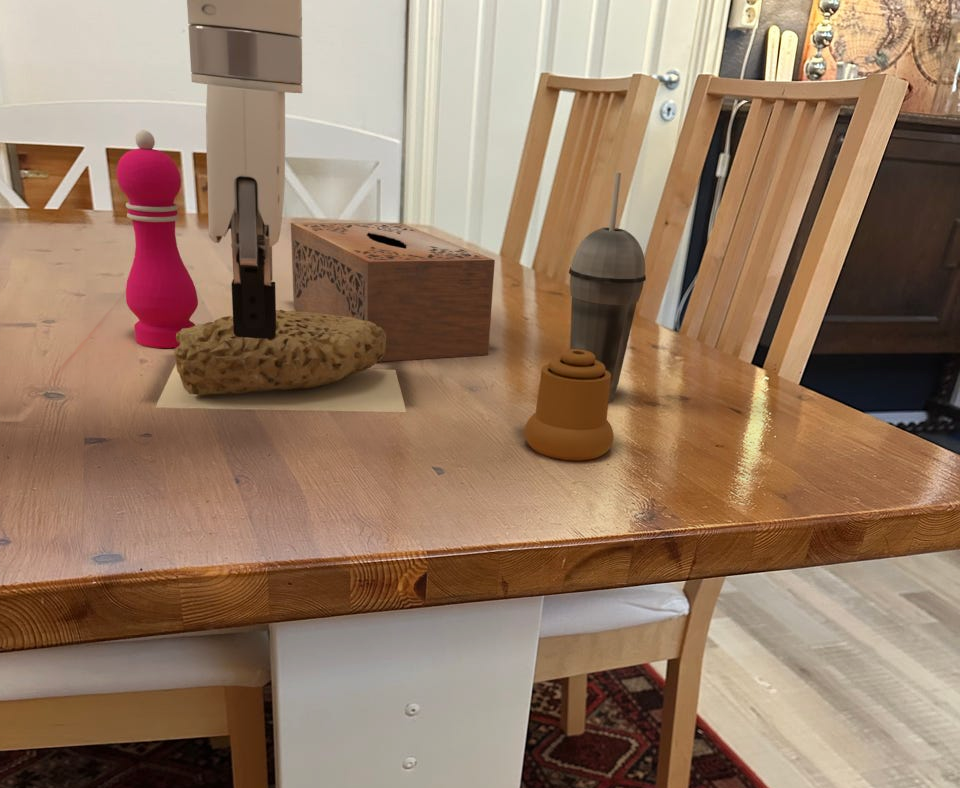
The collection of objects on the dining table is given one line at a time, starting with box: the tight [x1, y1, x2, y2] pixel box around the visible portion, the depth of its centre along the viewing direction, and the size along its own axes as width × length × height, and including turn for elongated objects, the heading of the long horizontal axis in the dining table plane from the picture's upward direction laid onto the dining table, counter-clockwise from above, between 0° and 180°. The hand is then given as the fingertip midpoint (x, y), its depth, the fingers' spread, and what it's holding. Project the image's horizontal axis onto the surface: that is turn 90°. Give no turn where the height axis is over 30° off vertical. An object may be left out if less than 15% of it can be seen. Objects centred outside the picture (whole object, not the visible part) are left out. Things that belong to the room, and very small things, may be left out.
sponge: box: [173, 309, 386, 395], centre depth 88 cm, size 13×8×20 cm
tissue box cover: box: [290, 222, 496, 363], centre depth 108 cm, size 26×14×10 cm, turn 27°
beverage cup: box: [568, 172, 647, 403], centre depth 88 cm, size 7×7×20 cm
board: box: [154, 363, 407, 414], centre depth 89 cm, size 22×14×1 cm, turn 99°
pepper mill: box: [116, 129, 199, 349], centre depth 95 cm, size 7×7×20 cm
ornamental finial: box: [524, 348, 614, 462], centre depth 77 cm, size 8×8×8 cm
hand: (255, 334), depth 73 cm, fingers closed
